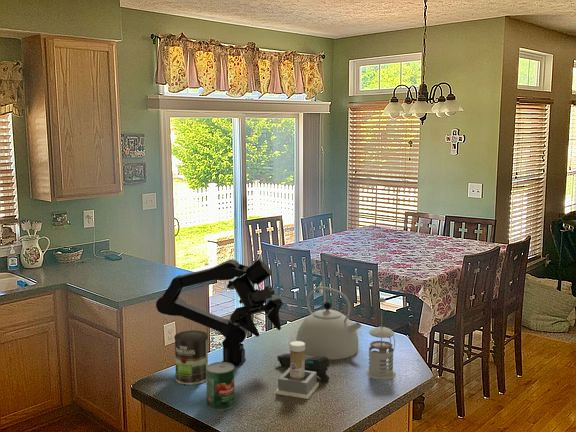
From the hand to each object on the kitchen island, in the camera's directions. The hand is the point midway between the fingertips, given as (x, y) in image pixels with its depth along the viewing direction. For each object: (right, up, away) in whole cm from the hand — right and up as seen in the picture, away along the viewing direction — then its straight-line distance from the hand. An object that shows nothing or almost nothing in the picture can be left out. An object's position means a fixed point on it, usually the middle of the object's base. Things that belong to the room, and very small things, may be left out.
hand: (269, 332), depth 185 cm
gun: (+11, -14, +3) cm, 18 cm away
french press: (+36, -14, +2) cm, 39 cm away
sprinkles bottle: (+9, -14, -11) cm, 20 cm away
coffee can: (-24, -14, -2) cm, 28 cm away
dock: (+9, -15, -11) cm, 20 cm away
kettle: (+21, -11, +25) cm, 34 cm away
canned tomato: (-13, -16, -20) cm, 29 cm away
